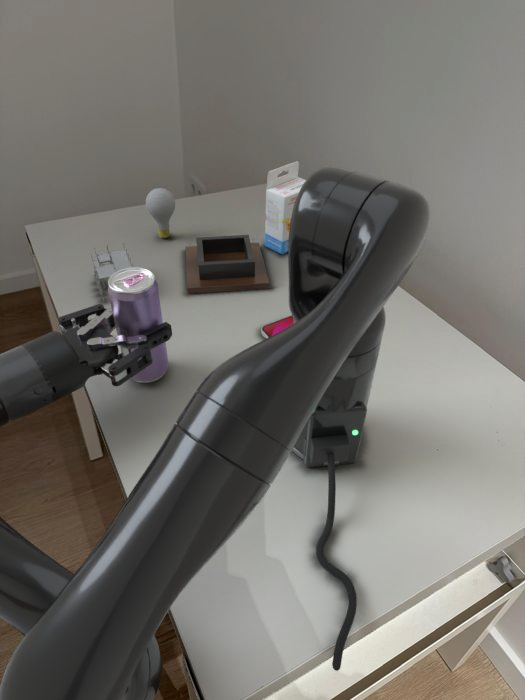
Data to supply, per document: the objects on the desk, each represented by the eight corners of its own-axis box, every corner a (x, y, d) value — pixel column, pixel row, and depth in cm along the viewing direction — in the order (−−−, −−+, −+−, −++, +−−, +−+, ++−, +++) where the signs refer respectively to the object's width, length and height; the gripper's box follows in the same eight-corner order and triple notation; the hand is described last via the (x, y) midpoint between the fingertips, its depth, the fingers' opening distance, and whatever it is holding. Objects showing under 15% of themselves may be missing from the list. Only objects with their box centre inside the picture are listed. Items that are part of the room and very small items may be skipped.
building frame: (102, 302, 85) (94, 271, 81) (94, 277, 91) (87, 247, 87) (139, 294, 87) (134, 264, 83) (129, 270, 93) (124, 241, 89)
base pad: (269, 288, 89) (269, 267, 86) (187, 294, 87) (185, 273, 85) (258, 247, 99) (259, 228, 97) (185, 252, 98) (183, 232, 95)
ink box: (282, 256, 97) (285, 180, 87) (264, 246, 100) (265, 171, 90) (312, 241, 102) (318, 167, 92) (294, 232, 104) (298, 159, 95)
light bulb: (176, 244, 100) (171, 195, 93) (148, 244, 100) (141, 195, 93) (180, 231, 104) (175, 183, 97) (153, 230, 104) (146, 183, 97)
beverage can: (177, 369, 72) (166, 278, 63) (143, 391, 69) (125, 299, 59) (151, 350, 75) (136, 261, 66) (117, 370, 72) (96, 279, 62)
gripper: (17, 368, 66) (131, 315, 75) (70, 432, 58) (190, 365, 67) (-2, 321, 61) (122, 271, 70) (53, 385, 53) (186, 319, 62)
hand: (155, 317), depth 68 cm, fingers closed on beverage can, 6 cm apart
